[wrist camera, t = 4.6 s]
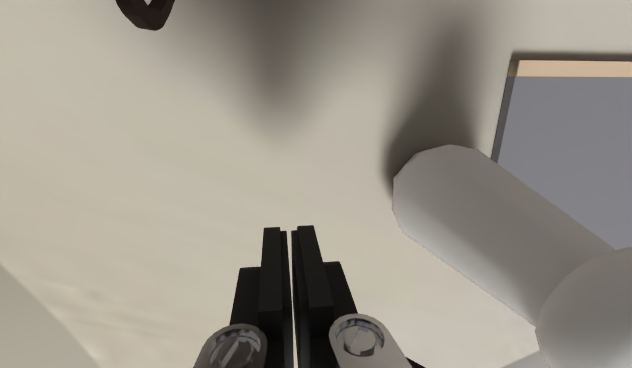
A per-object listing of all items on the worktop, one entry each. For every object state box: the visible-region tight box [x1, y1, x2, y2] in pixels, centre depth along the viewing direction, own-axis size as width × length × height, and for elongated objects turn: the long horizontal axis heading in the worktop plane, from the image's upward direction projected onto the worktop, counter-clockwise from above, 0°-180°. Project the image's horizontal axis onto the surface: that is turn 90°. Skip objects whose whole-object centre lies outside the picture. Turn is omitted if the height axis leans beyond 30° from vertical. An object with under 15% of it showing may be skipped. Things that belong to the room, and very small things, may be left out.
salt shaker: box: [392, 144, 632, 368], centre depth 13 cm, size 6×6×13 cm
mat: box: [491, 60, 632, 250], centre depth 20 cm, size 14×14×1 cm
